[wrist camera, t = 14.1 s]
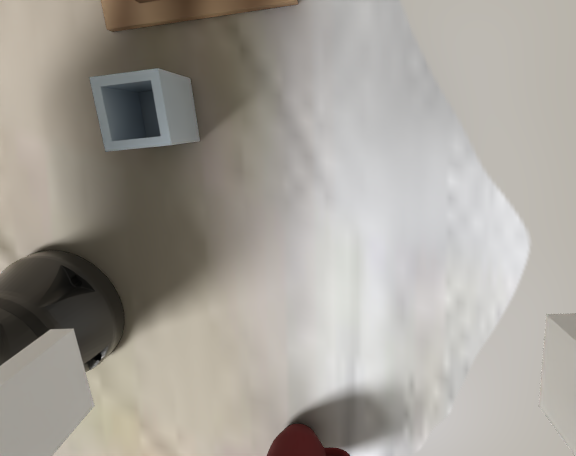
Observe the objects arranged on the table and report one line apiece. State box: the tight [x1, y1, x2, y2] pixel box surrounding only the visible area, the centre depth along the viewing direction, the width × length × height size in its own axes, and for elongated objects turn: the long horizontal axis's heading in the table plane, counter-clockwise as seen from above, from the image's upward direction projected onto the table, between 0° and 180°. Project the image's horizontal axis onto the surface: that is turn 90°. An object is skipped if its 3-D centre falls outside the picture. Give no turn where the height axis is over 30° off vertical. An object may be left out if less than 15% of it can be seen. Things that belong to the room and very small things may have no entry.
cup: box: [89, 68, 200, 152], centre depth 35 cm, size 6×6×7 cm
